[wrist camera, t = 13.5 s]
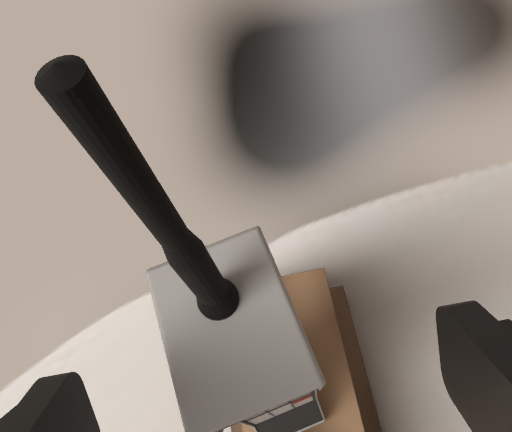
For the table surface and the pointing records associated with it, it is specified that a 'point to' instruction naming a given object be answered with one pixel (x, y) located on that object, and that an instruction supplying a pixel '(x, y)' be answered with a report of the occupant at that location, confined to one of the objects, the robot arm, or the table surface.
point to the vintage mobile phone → (201, 286)
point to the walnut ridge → (332, 355)
